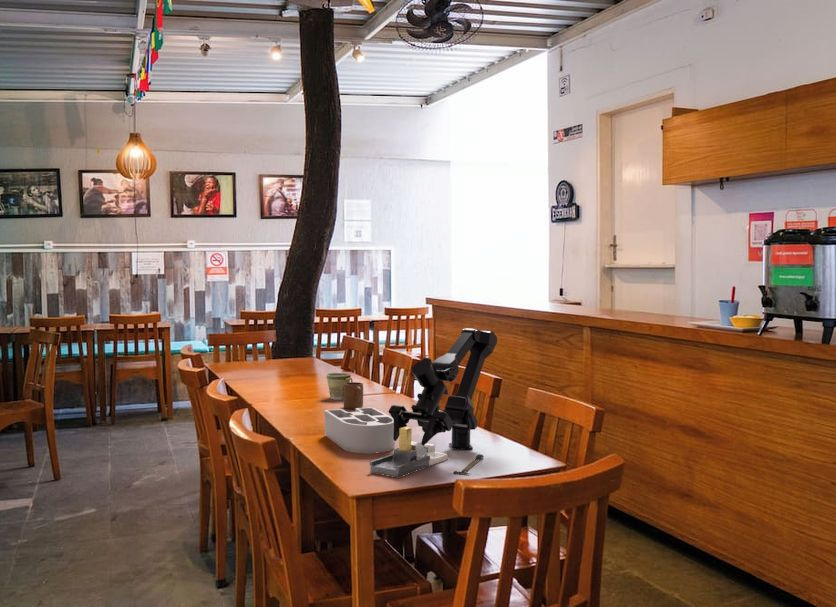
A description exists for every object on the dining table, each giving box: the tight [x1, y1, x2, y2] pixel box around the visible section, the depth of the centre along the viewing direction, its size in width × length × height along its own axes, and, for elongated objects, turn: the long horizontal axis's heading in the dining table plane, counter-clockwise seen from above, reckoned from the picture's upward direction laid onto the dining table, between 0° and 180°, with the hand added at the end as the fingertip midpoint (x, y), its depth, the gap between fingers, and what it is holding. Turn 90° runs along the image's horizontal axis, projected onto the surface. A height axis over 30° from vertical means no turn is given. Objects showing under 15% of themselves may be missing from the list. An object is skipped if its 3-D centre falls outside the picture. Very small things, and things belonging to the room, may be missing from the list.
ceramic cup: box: [326, 372, 354, 401], centre depth 325 cm, size 13×10×10 cm
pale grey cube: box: [411, 440, 423, 459], centre depth 220 cm, size 4×4×4 cm
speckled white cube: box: [423, 442, 436, 460], centre depth 225 cm, size 4×4×4 cm
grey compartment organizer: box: [323, 406, 396, 454], centre depth 245 cm, size 17×28×9 cm, turn 23°
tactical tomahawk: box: [452, 453, 484, 477], centre depth 220 cm, size 21×7×1 cm, turn 158°
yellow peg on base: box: [393, 426, 417, 463], centre depth 216 cm, size 3×6×9 cm, turn 57°
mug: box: [343, 381, 364, 410], centre depth 304 cm, size 12×8×9 cm, turn 22°
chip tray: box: [429, 451, 449, 467], centre depth 225 cm, size 10×9×2 cm
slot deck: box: [369, 453, 430, 478], centre depth 215 cm, size 15×10×3 cm, turn 147°
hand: (408, 442), depth 217 cm, fingers open, 9 cm apart
